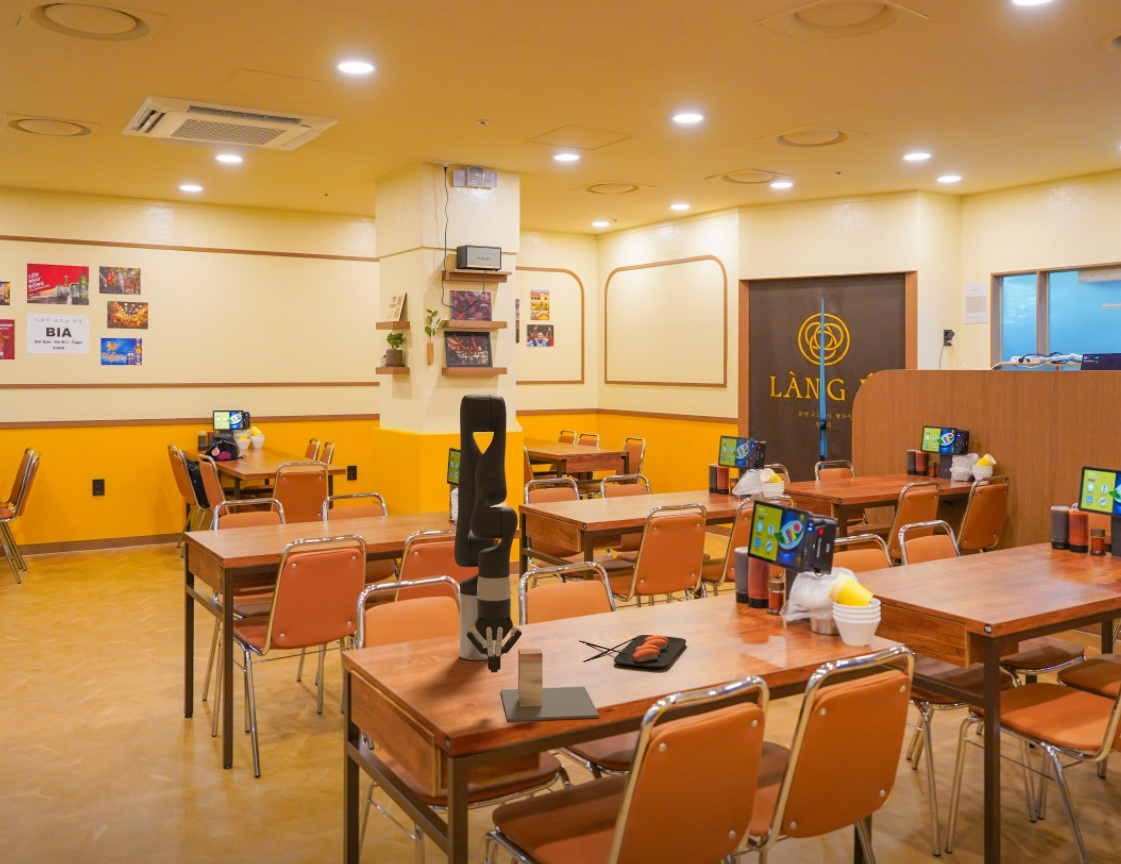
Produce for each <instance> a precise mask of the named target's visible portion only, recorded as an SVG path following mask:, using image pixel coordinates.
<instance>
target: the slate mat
mask: <svg viewBox="0 0 1121 864" xmlns="http://www.w3.org/2000/svg"><path fill="white" fill-rule="evenodd" d="M500 695H501V700H502V703H503V708H504V713H505V716H506V717H505V718H506V721H507V722H527V721H531V722H532V721H547V720H548V721H550V720H575V719H595V718H596V719H597V718H600V715H599V712H598V711H597V708H596V707H595V704H594V703H593V701H592V699H591V697H590V695H589V692H588V690H587V689H586V687H585V686H566V687H565V686H560V687H559V686H558V687H542V706H523V707H520V704H519V701H518V688H513V689H512V688H511V689H509V688H508V689H500Z"/></svg>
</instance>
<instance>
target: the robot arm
mask: <svg viewBox="0 0 1121 864" xmlns="http://www.w3.org/2000/svg"><path fill="white" fill-rule="evenodd" d="M460 401H461V402H460V407H459V437H460V439H459V440H460V444H459V445H460V448H459V449H460V452H459V453H460V455H459V469H458V480H457V481H458V483H457V519H456V528H455V536H454V537H455V538H454V547H453V550H454V551H453V553H454V554H453V555H454V562H455V563H456V565H457V566H459V567H460V568H478V569H477V570H478V571H477V573H476V574H474V575H472V576H470V577H468V578H465V579H463V580H462V581H461V582H460V584H459V657H460V658H462V659H464V660H469V661H486V660H487V669H488V671H490V673H493V674H494V673H497V674H498V672H499V671H500V670H501V667H502V666H501V661H502V660H501V659H502V658H501V657H502V655H504V654H509V652H510V651H511V649H512V648H513V647H514V645H515V644H516V643H517V642H518V640H519V639H520V637H521V636H522V634H523V632H522V630H521V628H517V626H515V625H514V622H513V620H512V618H511V617H512V609H511V607H512V603H511V601H512V598H511V595H512V590H511V589H512V587H511V585H512V584H511V577H510V576H511V572H510V571H511V570H510V566H511V565H510V564H511V563H510V561H511V551H512V546H513V543H514V539H515V535H516V532H517V529H518V523H519V517H518V513H517V511H515V509H514V508H513V507H511V506H499V505H500V504H502V503H504V502H505V501H506V499H507V497H508V489H507V478H506V476H507V475H506V466H505V464H506V463H505V462H506V448H507V406H506V401H505V399H504V397H503V396H502V395H500V394H489V393H488V394H477V393H476V394H474V393H473V394H466V395H464V396H463V397H462V398H461V400H460ZM474 433H492V434H493V436H492V438H491V441H490V443H489V445H488V447H487V448H486V450H484V452H482V451H481V449H480V447H479V445H478V444H477V441H476V439H475V436H474ZM497 505H498V506H497ZM496 539H500V542H499V543H498V544H497V543H496ZM496 544H497V545H496ZM508 634H509V635H510V636H509V638H508V639H507V640H506V642H505V643H504V645H503V646H502V644H503V640H504V639H505V638H506V637H507V636H508Z"/></svg>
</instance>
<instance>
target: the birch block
mask: <svg viewBox="0 0 1121 864" xmlns="http://www.w3.org/2000/svg"><path fill="white" fill-rule="evenodd" d="M517 649H518V650H517V652H518V653H517V654H518V656H517V657H518V658H517V660H518V661H517V663H518V664H517V666H518V667H517V676H518V677H517V689H518V701H519V704H520V707H523V706H542V688H543V651H542V648H541V647H540V646H529V647H527V646H525V647H518V648H517Z"/></svg>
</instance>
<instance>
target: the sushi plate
mask: <svg viewBox="0 0 1121 864" xmlns="http://www.w3.org/2000/svg"><path fill="white" fill-rule="evenodd" d="M582 642H583V643H582ZM580 643H582V644H584V643H586V644H585V645H587V644H588V645H587V646H591V647H594V648H599V649H603V650H605V651H602V652H600V653H598V654H595V655H593V656H591V657H589V658H587V659H585V660H583V661H582V662H584V663H586V661H587V662H589V660H590V661H591V659H592V660H595V659H597V658H599V657H601V656H603V655H605V654H607V653H609V652H614V653H618V654H617V655H616V656H615V657H614V659H613V662H614V663H615V664H618V665H623V666H632V667H638V666H639V668H659V669H660V668H665V667H668V666H669V665H670V664H671V663H672V661H673V660H674V659H675V658H676V656H678V654H679V653H680V652H681V650H682V649H684V646H685V645H686V643H687V639H685V638H683V637H677V636H675V637H674V636H666V635H657V634H656V635H653V634H640V635H637V636H635V637H633V638H631V639H629V640H626V641H624V642H622V643H620V644H618V645H616V646H614V647H611V648H608V647H605V646H601V645H597V644H594V643H591V642H587V641H584V640H581V642H580ZM626 644H627V645H626ZM624 645H625V647H624V648H623V649H621V651H619V650H615V649H617V648H619V647H621V646H624ZM594 658H595V659H594Z"/></svg>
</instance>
